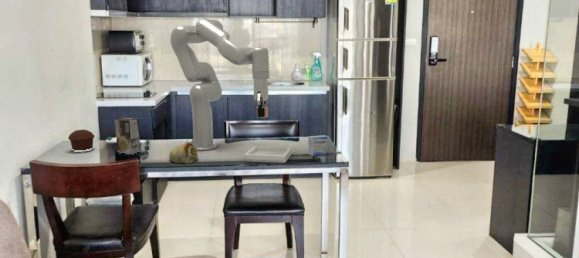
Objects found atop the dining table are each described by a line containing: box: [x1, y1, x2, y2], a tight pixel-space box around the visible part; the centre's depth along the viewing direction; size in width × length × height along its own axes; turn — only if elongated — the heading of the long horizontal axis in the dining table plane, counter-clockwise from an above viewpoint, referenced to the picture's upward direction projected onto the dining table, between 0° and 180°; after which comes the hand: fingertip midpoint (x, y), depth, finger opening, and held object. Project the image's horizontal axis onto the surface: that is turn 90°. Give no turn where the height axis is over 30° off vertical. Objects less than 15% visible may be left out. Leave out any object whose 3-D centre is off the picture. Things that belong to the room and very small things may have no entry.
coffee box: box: [114, 117, 141, 155], centre depth 236 cm, size 9×6×16 cm
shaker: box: [256, 102, 269, 119], centre depth 228 cm, size 5×5×6 cm
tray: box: [243, 145, 293, 164], centre depth 227 cm, size 18×18×3 cm
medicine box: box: [308, 134, 329, 157], centre depth 233 cm, size 8×4×9 cm, turn 117°
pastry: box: [168, 143, 199, 165], centre depth 222 cm, size 14×12×8 cm
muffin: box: [67, 129, 96, 150], centre depth 241 cm, size 12×11×10 cm
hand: (262, 115), depth 228 cm, fingers closed on shaker, 5 cm apart
